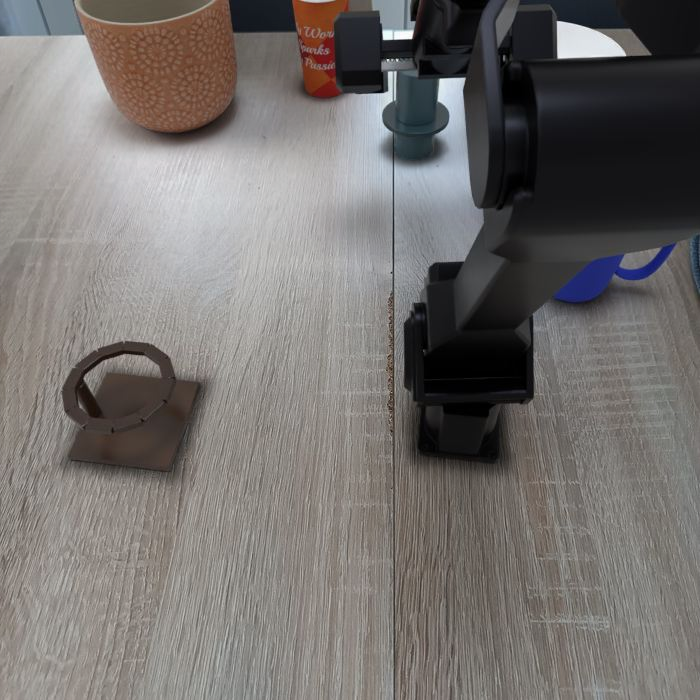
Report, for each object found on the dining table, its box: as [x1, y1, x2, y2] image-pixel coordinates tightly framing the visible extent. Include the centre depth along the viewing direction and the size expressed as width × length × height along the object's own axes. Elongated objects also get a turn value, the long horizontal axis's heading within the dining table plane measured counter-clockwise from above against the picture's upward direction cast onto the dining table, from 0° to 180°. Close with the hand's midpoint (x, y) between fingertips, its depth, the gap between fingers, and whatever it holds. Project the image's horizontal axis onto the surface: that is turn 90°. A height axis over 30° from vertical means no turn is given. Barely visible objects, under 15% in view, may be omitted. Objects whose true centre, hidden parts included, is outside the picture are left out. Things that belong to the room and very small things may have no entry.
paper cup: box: [291, 0, 350, 99], centre depth 84 cm, size 8×8×14 cm
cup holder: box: [61, 340, 201, 472], centre depth 54 cm, size 9×9×6 cm
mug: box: [552, 242, 678, 303], centre depth 61 cm, size 8×12×10 cm
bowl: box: [557, 20, 627, 59], centre depth 81 cm, size 18×18×7 cm
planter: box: [74, 0, 238, 134], centre depth 80 cm, size 17×17×15 cm
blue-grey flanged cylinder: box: [381, 58, 451, 161], centre depth 75 cm, size 8×8×10 cm
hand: (432, 84), depth 64 cm, fingers open, 9 cm apart
